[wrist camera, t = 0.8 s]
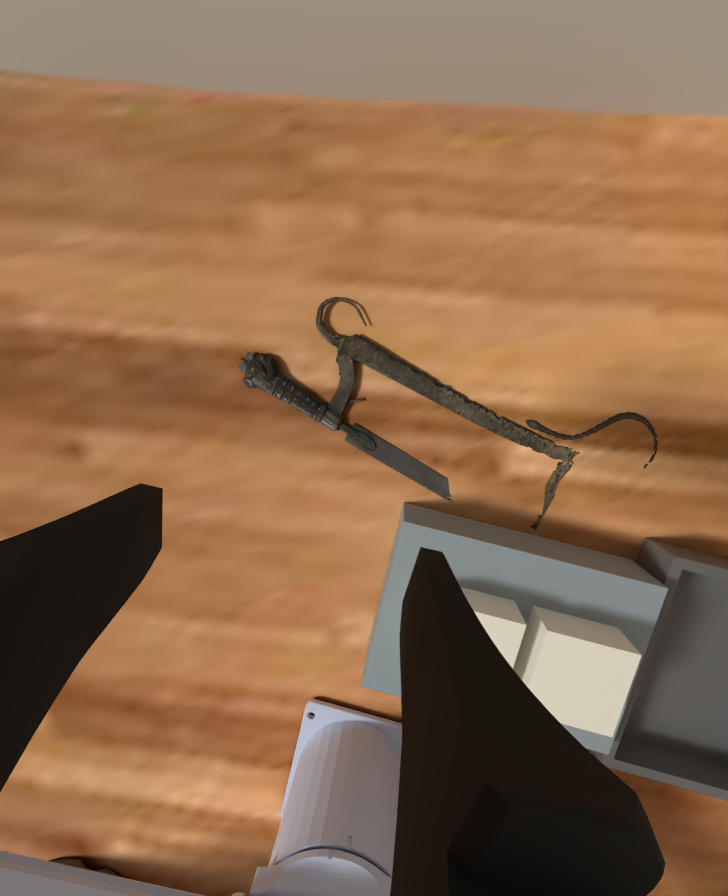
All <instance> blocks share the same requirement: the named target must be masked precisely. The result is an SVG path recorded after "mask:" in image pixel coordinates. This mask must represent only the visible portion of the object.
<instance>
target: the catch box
mask: <svg viewBox="0 0 728 896" xmlns="http://www.w3.org/2000/svg"><path fill="white" fill-rule="evenodd" d="M637 564H638V565H639V566H640V567H642V568H643V569H644V570H646V571H647V572H648V573H649V574H651V575H652V576H653V577H654V578H656V579H657V580H658V581H660V582H661V583H662V584H663V585H665V586H666V587H667V588H668V591H667V594H666V596H665V599H664V602H663V605H662V608H661V610H660V613H659V616H658V619H657V621H656V624H655V627H654V630H653V633H652V635H651V638H650V641H649V644H648V646H647V649H646V652H645V655H644V657H643V660H642V663H641V666H640V669H639V671H638V674H637V677H636V680H635V682H634V685H633V688H632V691H631V694H630V696H629V699H628V702H627V705H626V707H625V710H624V713H623V716H622V718H621V721H620V724H619V727H618V730H617V732H616V735H615V738H614V741H613V743H612V746H611V749H610V752H609V755H608V754H604V753H600V752H597V751H593V750H592V751H593V753H594V755H595V757H596V758H597V759H598V760H599V761H600V762H601V763H602V764H604V765H605V766H606V767H608V768H612V769H616V770H619V771H623V772H626V773H630V774H633V775H637V776H641V777H644V778H648V779H651V780H655V781H659V782H662V783H666V784H669V785H673V786H677V787H680V788H684V789H687V790H691V791H695V792H698V793H702V794H705V795H709V796H713V797H716V798H720V799H723V800H727V801H728V558H726V557H722V556H718V555H714V554H710V553H706V552H702V551H698V550H694V549H690V548H686V547H682V546H678V545H674V544H670V543H666V542H662V541H658V540H654V539H649V538H645V541H644V544H643V547H642V550H641V552H640V555H639V558H638V561H637Z"/></svg>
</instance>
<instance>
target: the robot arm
mask: <svg viewBox="0 0 728 896" xmlns="http://www.w3.org/2000/svg"><path fill="white" fill-rule="evenodd" d="M162 492H163V488H158V487H154V486H149V485H145V484H138V485H136V486H133V487H131V488H128V489H126V490H124V491H121V492H119V493H117V494H115V495H112V496H110V497H108V498H106V499H104V500H101V501H99V502H97V503H95V504H92V505H90V506H88V507H86V508H83V509H81V510H79V511H76V512H74V513H72V514H70V515H67V516H65V517H62V518H60V519H57V520H55V521H52V522H50V523H47V524H45V525H42V526H40V527H37V528H35V529H32V530H30V531H27V532H25V533H22V534H19V535H17V536H14V537H11V538H8V539H5V540H2V541H0V792H1V790H2V788H3V787H4V785H5V783H6V781H7V780H8V778H9V776H10V774H11V773H12V771H13V769H14V767H15V766H16V764H17V762H18V760H19V759H20V757H21V755H22V754H23V752H24V750H25V748H26V747H27V745H28V743H29V741H30V740H31V738H32V736H33V735H34V733H35V732H36V730H37V728H38V727H39V725H40V723H41V722H42V720H43V718H44V717H45V715H46V713H47V712H48V710H49V709H50V707H51V705H52V704H53V702H54V700H55V699H56V697H57V696H58V694H59V693H60V691H61V689H62V688H63V686H64V685H65V683H66V682H67V680H68V679H69V677H70V675H71V674H72V672H73V671H74V669H75V668H76V666H77V665H78V663H79V662H80V660H81V659H82V658H83V656H84V655H85V654H86V652H87V651H88V649H89V648H90V647H91V645H92V644H93V643H94V642H95V640H96V639H97V638H98V637H99V635H100V634H101V633H102V631H103V630H104V629H105V628H106V626H107V625H108V624H109V623H110V621H111V620H112V619H113V618H114V616H115V615H116V614H117V612H118V611H119V610H120V609H121V607H122V606H123V605H124V604H125V602H126V601H127V600H128V598H129V597H130V596H131V594H132V593H133V592H134V591H135V589H136V588H137V587H138V585H139V584H140V583H141V581H142V580H143V579H144V577H145V575H146V574H147V572H148V571H149V569H150V567H151V566H152V564H153V562H154V560H155V559H156V557H157V555H158V553H159V552H160V550H161V548H162ZM399 639H400V673H401V702H402V723H399V722H395V721H392V720H388V719H385V718H381V717H377V716H374V715H370V714H367V713H363V712H360V711H356V710H352V709H349V708H345V707H342V706H338V705H335V704H331V703H327V702H324V701H320V700H317V699H310V700H309V701H308V702H307V704H306V707H305V712H304V716H303V720H302V724H301V729H300V733H299V737H298V741H297V746H296V750H295V754H294V758H293V763H292V767H291V771H290V775H289V779H288V784H287V788H286V792H285V796H284V801H283V805H282V809H281V813H280V817H281V819H282V820H281V824H280V827H279V830H278V834H277V837H276V841H275V844H274V848H273V851H272V855H271V858H270V862H269V865H268V867H258V868H257V870H256V873H255V876H254V880H253V883H252V886H251V889H250V892H249V895H247V894H245V893H240V892H236V893H234V894H232V895H231V896H646V895H648V894H649V893H650V892H651V891H652V890H653V889H654V888H655V886H656V885H657V884H658V882H659V881H660V880H661V878H662V876H663V873H664V867H665V861H664V858H663V856H662V853H661V851H660V848H659V846H658V843H657V840H656V838H655V835H654V832H653V830H652V827H651V825H650V822H649V820H648V817H647V815H646V813H645V811H644V809H643V806H642V804H641V802H640V800H639V798H638V796H637V793H635V792H634V791H633V790H632V789H631V788H630V787H629V786H627V785H626V784H625V783H624V782H623V781H622V780H621V779H619V778H618V777H617V776H616V775H615V774H614V773H613V772H612V771H610V770H609V769H608V768H607V767H606V766H605V765H604V764H602V763H601V762H600V761H599V760H598V759H597V758H596V757H594V756H593V755H592V754H591V753H590V752H589V751H588V750H587V749H586V748H585V747H584V746H583V745H582V744H581V743H580V742H579V741H578V740H577V739H576V738H575V737H574V736H573V735H572V734H571V733H570V732H569V731H568V730H567V729H565V728H564V727H563V725H562V724H561V723H560V722H559V721H558V720H557V719H556V718H555V717H554V716H553V715H552V714H551V713H550V712H549V711H548V710H547V709H546V707H545V706H544V705H543V704H542V703H541V702H540V701H539V700H538V698H537V697H536V696H535V695H534V694H533V693H532V692H531V690H530V689H529V688H528V687H527V686H526V685H525V683H524V682H523V681H522V680H521V679H520V677H519V676H518V675H517V674H516V672H515V671H514V670H513V668H512V667H511V666H510V664H509V663H508V662H507V661H506V659H505V658H504V657H503V655H502V654H501V653H500V651H499V650H498V648H497V647H496V646H495V644H494V643H493V641H492V640H491V638H490V636H489V635H488V633H487V632H486V630H485V629H484V627H483V626H482V624H481V622H480V621H479V619H478V617H477V616H476V614H475V612H474V610H473V609H472V607H471V605H470V603H469V602H468V600H467V598H466V596H465V595H464V593H463V591H462V589H461V587H460V585H459V583H458V581H457V579H456V577H455V575H454V573H453V572H452V569H451V567H450V565H449V563H448V561H447V559H446V557H445V555H444V554H443V552H441V551H436V550H432V549H428V548H423V547H420V550H419V553H418V556H417V559H416V562H415V565H414V568H413V571H412V574H411V577H410V580H409V583H408V586H407V589H406V592H405V595H404V598H403V601H402V612H401V623H400V636H399ZM310 712H312V713H314V714H315V715H310V714H309V713H310ZM0 896H205V895H200V894H196V893H191V892H187V891H182V890H177V889H173V888H168V887H164V886H159V885H155V884H150V883H145V882H141V881H136V880H132V879H127V878H123V877H118V876H114V875H109V874H104V873H100V872H95V871H91V870H86V869H82V868H77V867H72V866H68V865H63V864H59V863H54V862H50V861H45V860H40V859H36V858H31V857H27V856H22V855H18V854H13V853H9V852H4V851H0Z"/></svg>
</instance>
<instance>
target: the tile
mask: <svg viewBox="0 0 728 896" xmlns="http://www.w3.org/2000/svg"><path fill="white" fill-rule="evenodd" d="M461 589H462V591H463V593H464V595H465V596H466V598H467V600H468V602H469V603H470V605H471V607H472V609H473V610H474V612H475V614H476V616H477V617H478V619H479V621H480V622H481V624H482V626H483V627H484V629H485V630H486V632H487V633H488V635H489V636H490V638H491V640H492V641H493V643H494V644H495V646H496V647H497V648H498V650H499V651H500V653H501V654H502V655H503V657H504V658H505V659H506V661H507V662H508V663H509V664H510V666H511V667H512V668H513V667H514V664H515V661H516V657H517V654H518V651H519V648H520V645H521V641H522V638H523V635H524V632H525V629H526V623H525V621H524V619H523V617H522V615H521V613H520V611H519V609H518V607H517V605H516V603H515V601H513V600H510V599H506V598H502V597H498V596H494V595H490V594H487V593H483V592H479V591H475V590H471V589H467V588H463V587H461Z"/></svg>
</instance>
